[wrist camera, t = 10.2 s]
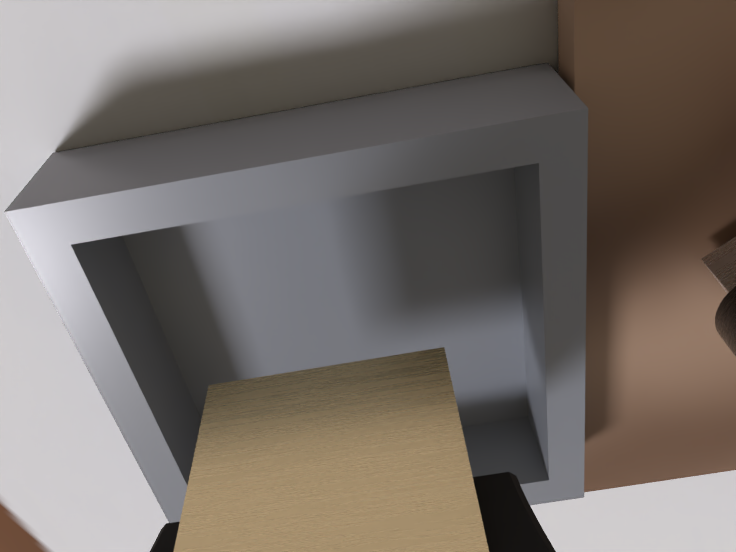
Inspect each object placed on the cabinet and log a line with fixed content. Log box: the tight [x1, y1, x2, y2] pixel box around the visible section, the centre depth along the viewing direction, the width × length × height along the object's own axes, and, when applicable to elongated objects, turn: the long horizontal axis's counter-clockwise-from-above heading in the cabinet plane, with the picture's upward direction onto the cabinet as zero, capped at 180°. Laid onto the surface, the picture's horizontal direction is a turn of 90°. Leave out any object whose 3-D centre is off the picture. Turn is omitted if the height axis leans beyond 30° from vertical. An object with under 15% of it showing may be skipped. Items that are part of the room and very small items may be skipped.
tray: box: [4, 63, 588, 523], centre depth 15 cm, size 10×10×2 cm
